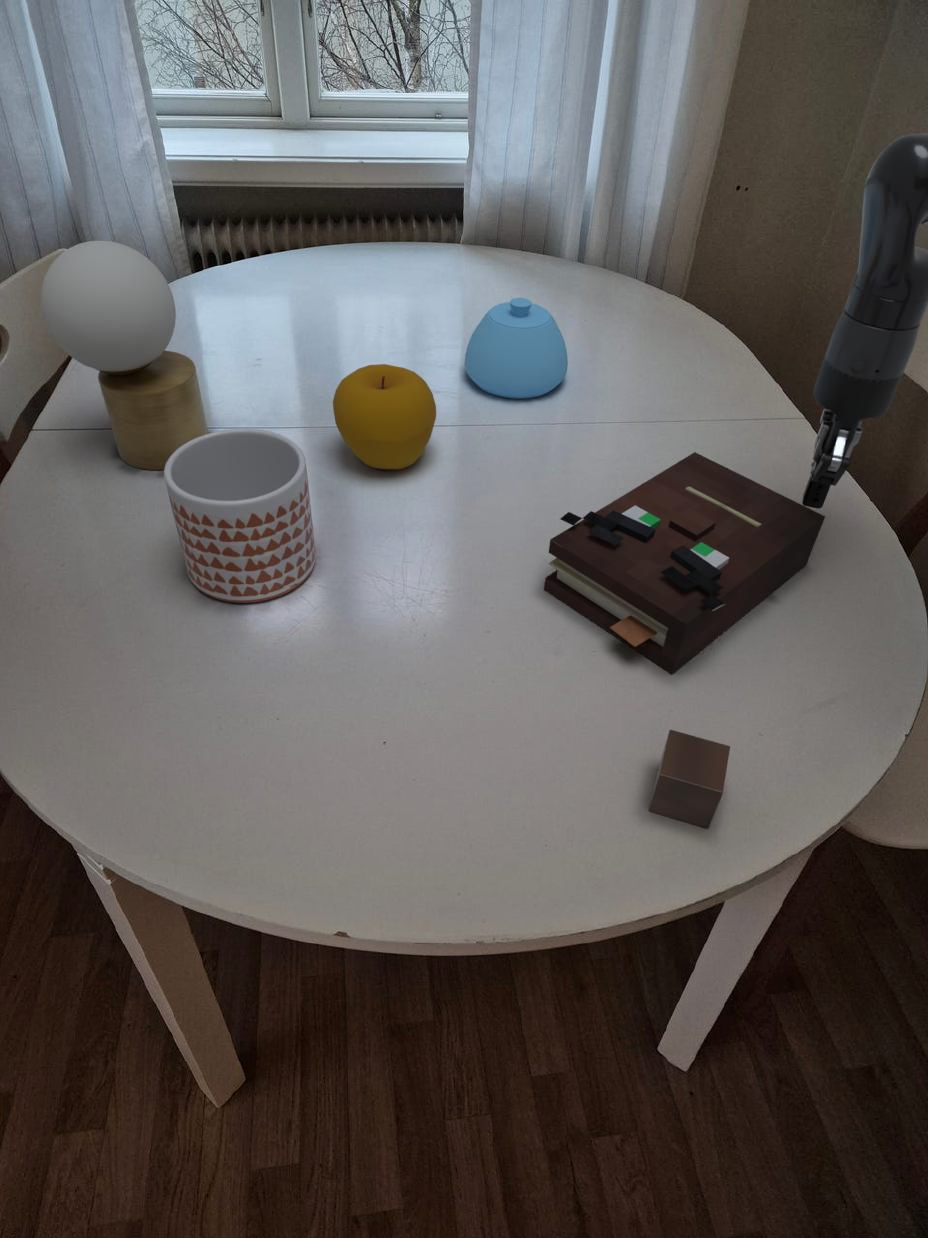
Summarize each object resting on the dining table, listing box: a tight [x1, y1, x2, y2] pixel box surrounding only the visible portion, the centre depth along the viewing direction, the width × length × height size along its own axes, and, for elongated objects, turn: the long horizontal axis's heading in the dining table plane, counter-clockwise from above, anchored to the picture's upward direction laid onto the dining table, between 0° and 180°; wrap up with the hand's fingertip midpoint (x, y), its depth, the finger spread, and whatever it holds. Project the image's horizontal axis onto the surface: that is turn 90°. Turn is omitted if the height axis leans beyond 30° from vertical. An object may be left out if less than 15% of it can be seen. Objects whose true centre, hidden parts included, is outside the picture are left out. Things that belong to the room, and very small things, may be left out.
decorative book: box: [543, 451, 826, 676], centre depth 92 cm, size 19×8×30 cm
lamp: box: [40, 240, 209, 471], centre depth 102 cm, size 15×14×25 cm
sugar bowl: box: [464, 297, 569, 400], centre depth 123 cm, size 15×15×12 cm
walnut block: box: [648, 729, 731, 830], centre depth 71 cm, size 5×5×5 cm
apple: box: [332, 363, 437, 470], centre depth 106 cm, size 13×13×11 cm
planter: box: [163, 428, 317, 604], centre depth 89 cm, size 14×14×13 cm
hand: (811, 503), depth 97 cm, fingers closed
